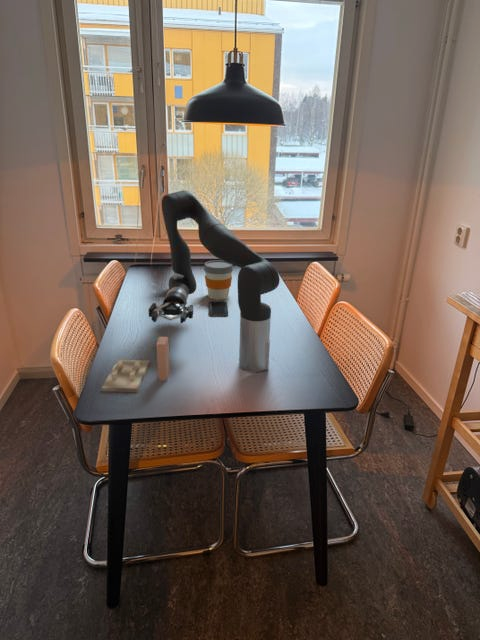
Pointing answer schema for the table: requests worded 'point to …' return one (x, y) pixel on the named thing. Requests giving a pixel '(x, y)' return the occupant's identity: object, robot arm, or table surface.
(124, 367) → the plate
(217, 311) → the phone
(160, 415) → the table surface
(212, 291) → the reusable coffee cup
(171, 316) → the external hard drive
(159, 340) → the block
